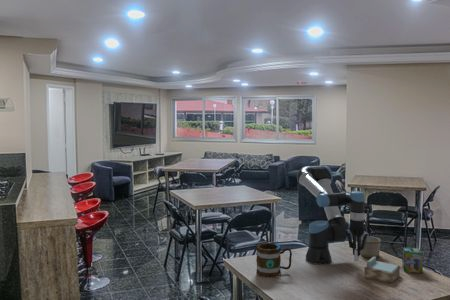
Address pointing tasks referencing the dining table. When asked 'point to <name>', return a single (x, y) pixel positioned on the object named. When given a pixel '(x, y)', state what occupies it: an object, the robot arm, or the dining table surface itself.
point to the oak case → (381, 274)
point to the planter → (371, 247)
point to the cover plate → (381, 265)
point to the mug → (270, 260)
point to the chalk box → (412, 260)
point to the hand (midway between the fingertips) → (356, 260)
